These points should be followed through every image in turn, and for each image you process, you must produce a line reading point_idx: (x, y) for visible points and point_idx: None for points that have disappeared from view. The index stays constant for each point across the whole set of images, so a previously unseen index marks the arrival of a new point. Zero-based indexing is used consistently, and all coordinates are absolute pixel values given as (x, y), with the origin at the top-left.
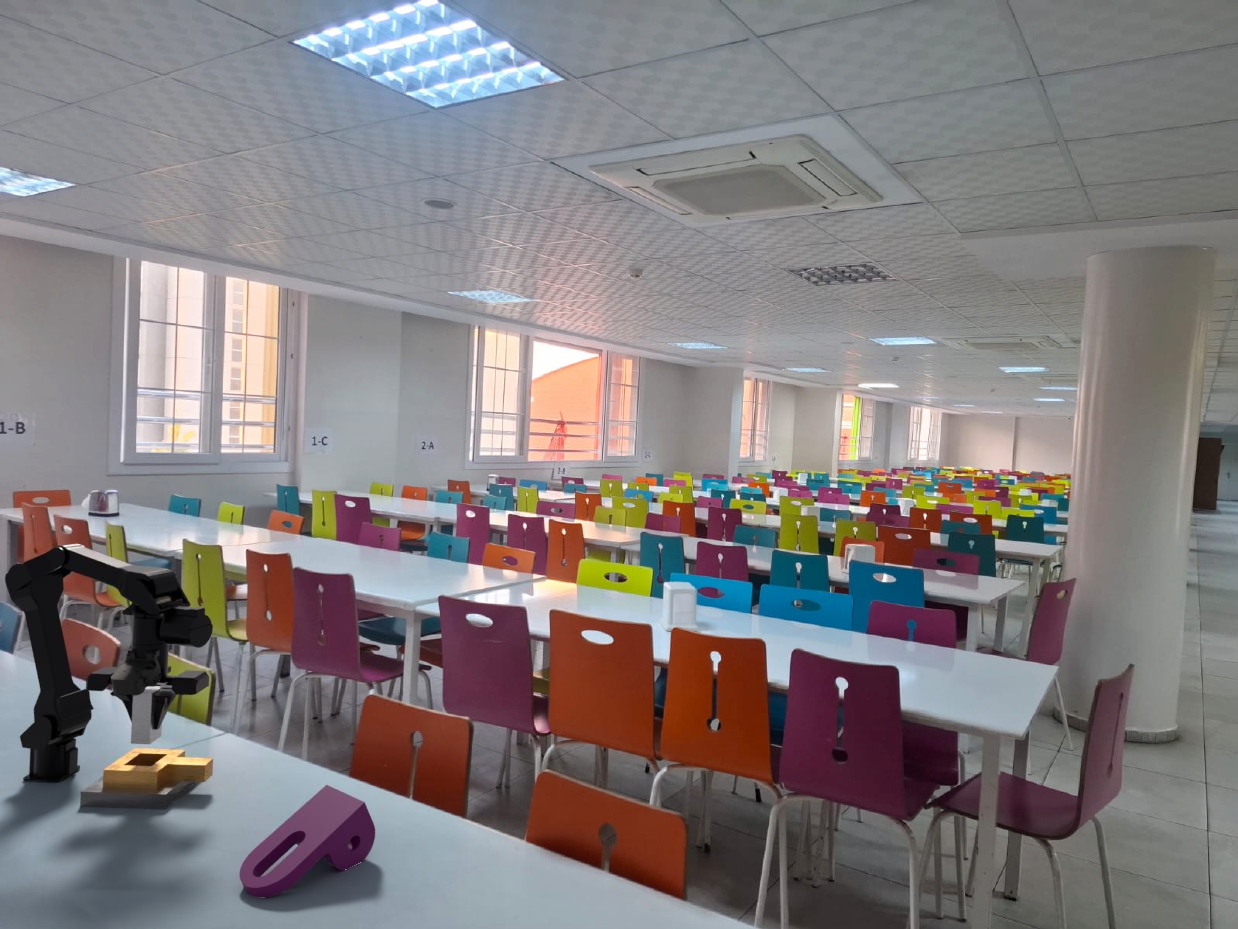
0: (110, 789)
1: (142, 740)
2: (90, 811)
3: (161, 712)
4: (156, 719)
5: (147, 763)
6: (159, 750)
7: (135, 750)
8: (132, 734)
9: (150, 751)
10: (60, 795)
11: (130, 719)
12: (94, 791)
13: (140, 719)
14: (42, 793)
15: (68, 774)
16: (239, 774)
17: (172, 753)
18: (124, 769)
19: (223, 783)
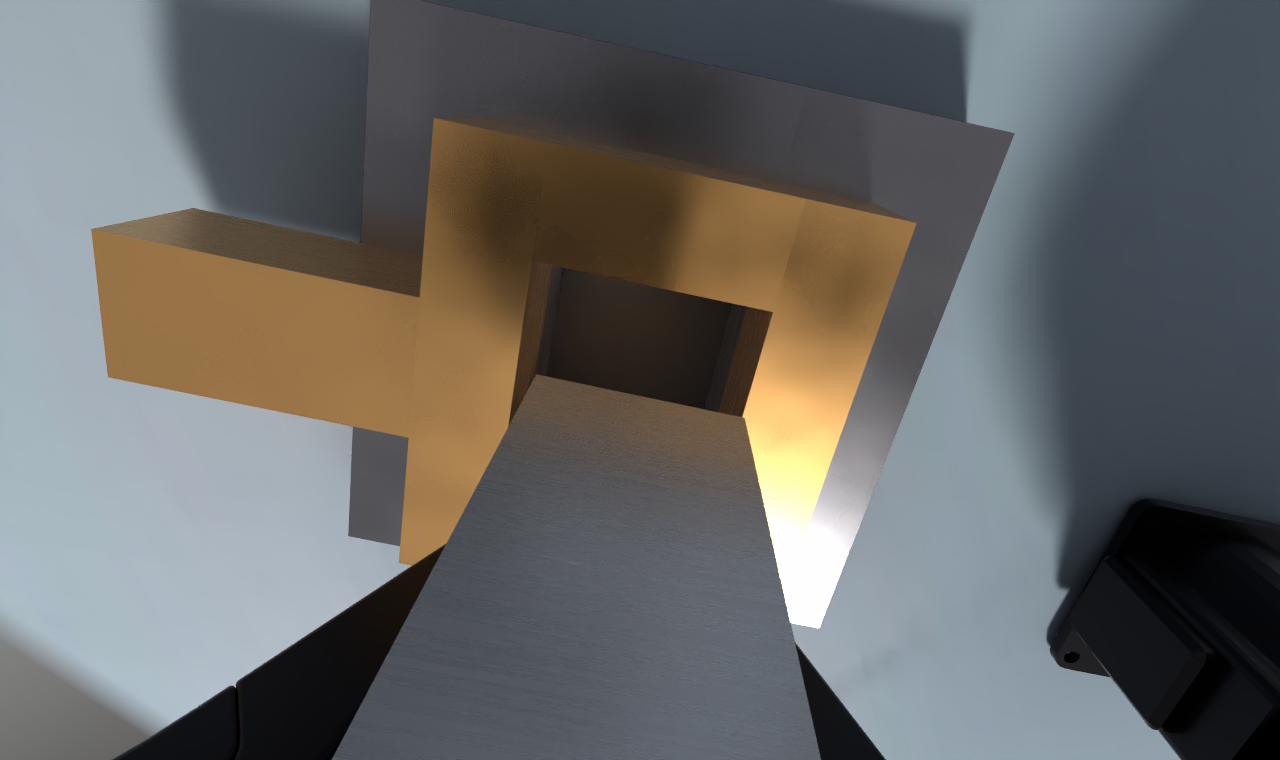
0: (808, 150)
1: (612, 407)
2: (887, 36)
3: (220, 700)
4: (392, 614)
5: None
6: None
7: None
8: (740, 467)
9: None
10: (1106, 323)
11: (829, 691)
12: (916, 123)
13: (631, 590)
14: (1211, 365)
15: (1105, 557)
16: (194, 485)
17: (463, 508)
18: (738, 208)
19: None
